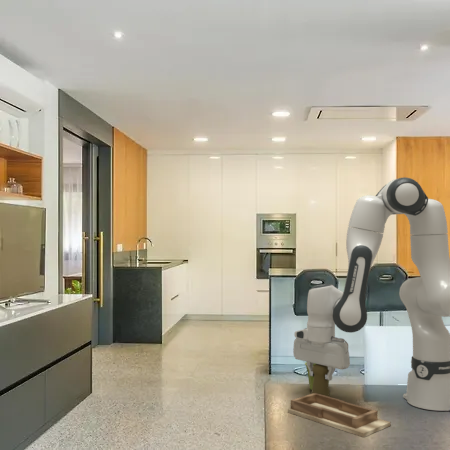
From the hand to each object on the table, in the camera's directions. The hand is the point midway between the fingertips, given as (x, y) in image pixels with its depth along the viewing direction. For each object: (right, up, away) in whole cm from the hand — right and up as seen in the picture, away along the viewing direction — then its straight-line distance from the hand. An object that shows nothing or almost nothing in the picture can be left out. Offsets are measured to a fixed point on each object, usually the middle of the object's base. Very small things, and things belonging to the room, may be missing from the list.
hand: (320, 378), depth 174 cm
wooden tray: (+2, -6, -19) cm, 20 cm away
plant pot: (+1, -7, +10) cm, 13 cm away
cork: (0, -7, 0) cm, 7 cm away
